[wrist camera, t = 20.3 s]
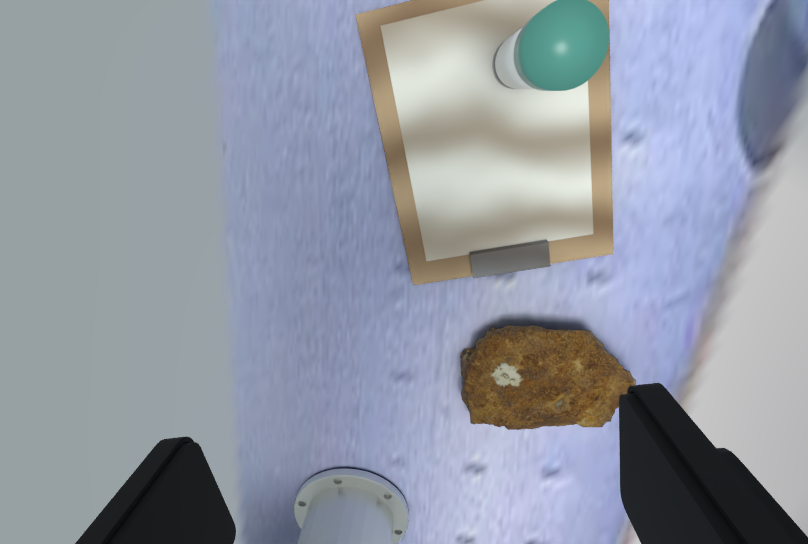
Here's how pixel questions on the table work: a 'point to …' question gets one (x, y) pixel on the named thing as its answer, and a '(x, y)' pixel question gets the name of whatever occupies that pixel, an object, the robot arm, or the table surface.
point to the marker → (554, 48)
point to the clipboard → (485, 143)
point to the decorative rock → (541, 378)
